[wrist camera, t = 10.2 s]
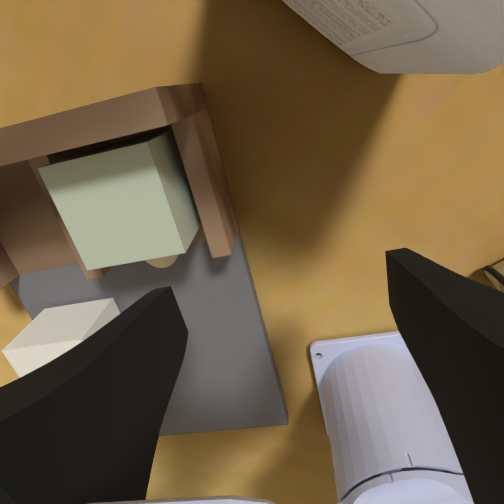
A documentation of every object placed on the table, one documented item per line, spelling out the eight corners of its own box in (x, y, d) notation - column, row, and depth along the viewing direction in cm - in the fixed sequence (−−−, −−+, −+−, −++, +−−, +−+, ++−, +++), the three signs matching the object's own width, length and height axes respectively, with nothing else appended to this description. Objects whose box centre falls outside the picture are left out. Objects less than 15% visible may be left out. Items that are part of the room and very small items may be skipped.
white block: (169, 417, 27) (147, 485, 23) (111, 423, 28) (78, 489, 24) (113, 297, 23) (71, 352, 18) (44, 308, 23) (-12, 363, 19)
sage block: (211, 249, 20) (196, 286, 17) (132, 263, 21) (102, 301, 18) (174, 128, 18) (146, 141, 14) (84, 150, 18) (37, 168, 15)
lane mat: (288, 413, 28) (288, 424, 27) (110, 429, 30) (105, 440, 29) (239, 228, 21) (237, 234, 20) (16, 269, 24) (6, 277, 23)
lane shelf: (239, 228, 21) (220, 292, 15) (16, 269, 24) (-79, 339, 17) (200, 82, 18) (155, 86, 11) (-54, 149, 20) (-203, 182, 14)
